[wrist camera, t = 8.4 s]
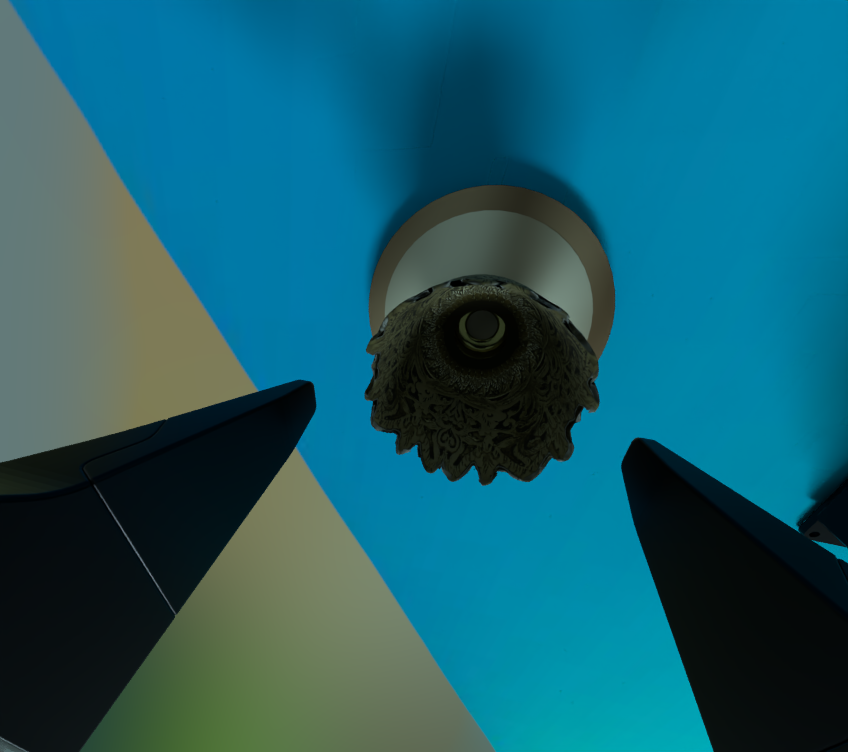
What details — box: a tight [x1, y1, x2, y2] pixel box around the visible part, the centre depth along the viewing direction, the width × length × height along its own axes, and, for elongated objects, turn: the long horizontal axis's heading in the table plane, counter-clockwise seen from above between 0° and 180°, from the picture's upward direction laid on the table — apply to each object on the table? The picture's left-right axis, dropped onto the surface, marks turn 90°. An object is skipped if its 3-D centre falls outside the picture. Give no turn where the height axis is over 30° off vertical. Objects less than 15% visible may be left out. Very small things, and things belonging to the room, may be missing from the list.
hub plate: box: [369, 185, 615, 360], centre depth 17 cm, size 13×13×1 cm
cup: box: [365, 274, 599, 486], centre depth 13 cm, size 8×7×8 cm
